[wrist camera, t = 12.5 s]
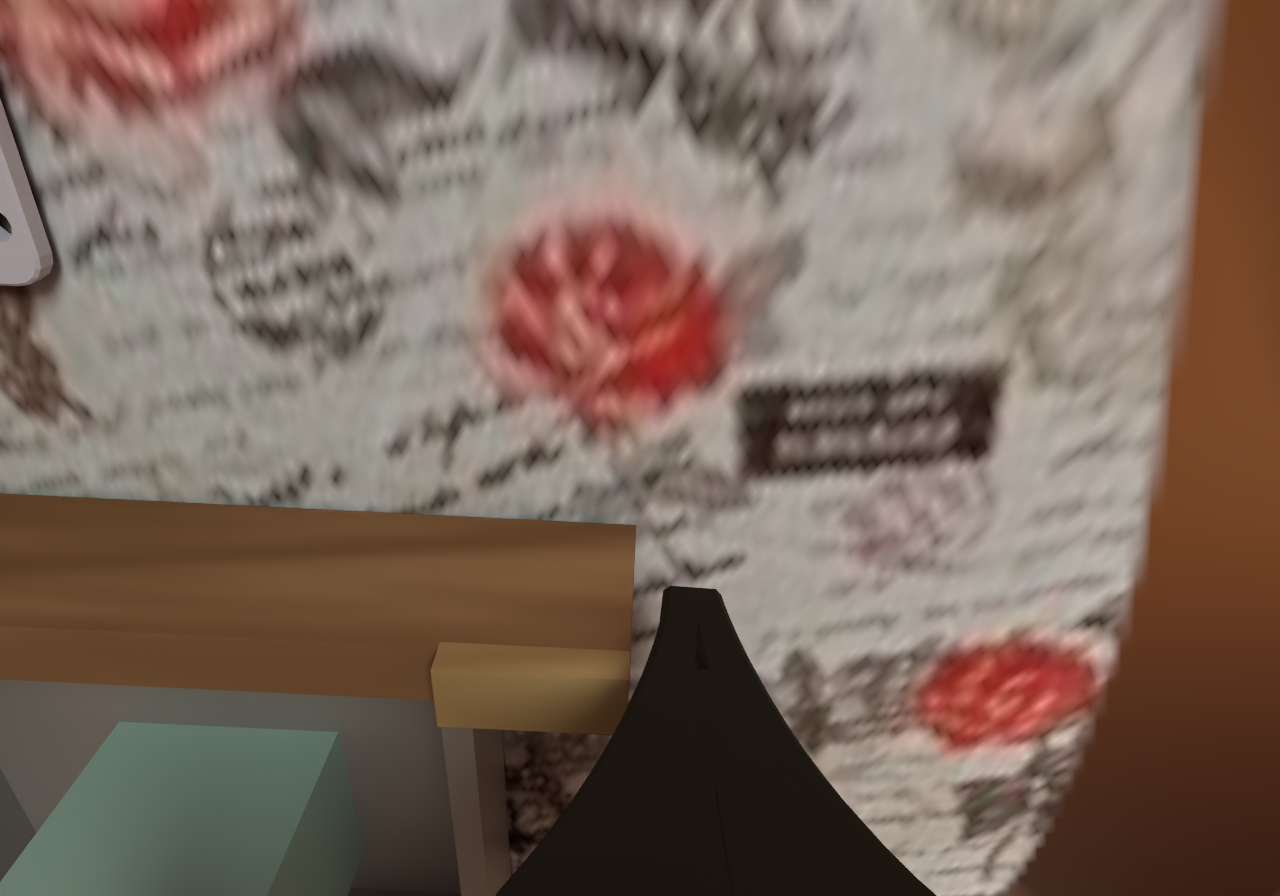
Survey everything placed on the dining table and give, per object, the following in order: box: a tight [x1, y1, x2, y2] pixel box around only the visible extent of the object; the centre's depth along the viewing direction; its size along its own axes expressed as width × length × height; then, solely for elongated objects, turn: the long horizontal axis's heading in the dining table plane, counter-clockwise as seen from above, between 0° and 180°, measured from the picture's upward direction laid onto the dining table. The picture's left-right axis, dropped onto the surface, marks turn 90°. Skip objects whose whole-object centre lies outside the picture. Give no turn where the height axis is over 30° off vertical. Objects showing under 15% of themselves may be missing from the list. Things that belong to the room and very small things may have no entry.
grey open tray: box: [0, 679, 511, 896], centre depth 18 cm, size 11×13×2 cm
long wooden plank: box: [0, 494, 636, 735], centre depth 14 cm, size 1×16×4 cm, turn 87°
